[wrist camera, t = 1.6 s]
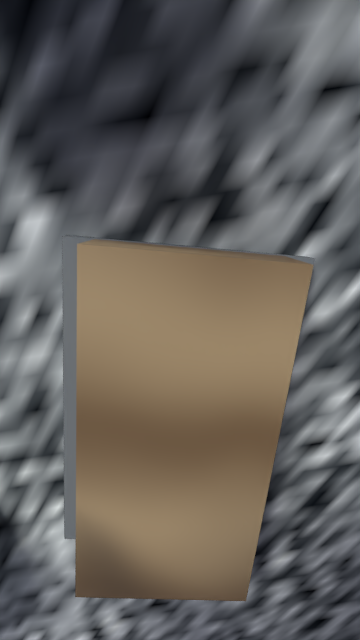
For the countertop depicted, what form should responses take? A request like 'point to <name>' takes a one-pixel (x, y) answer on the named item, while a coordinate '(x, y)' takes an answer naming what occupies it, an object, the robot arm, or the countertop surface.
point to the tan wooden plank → (178, 414)
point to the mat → (71, 367)
